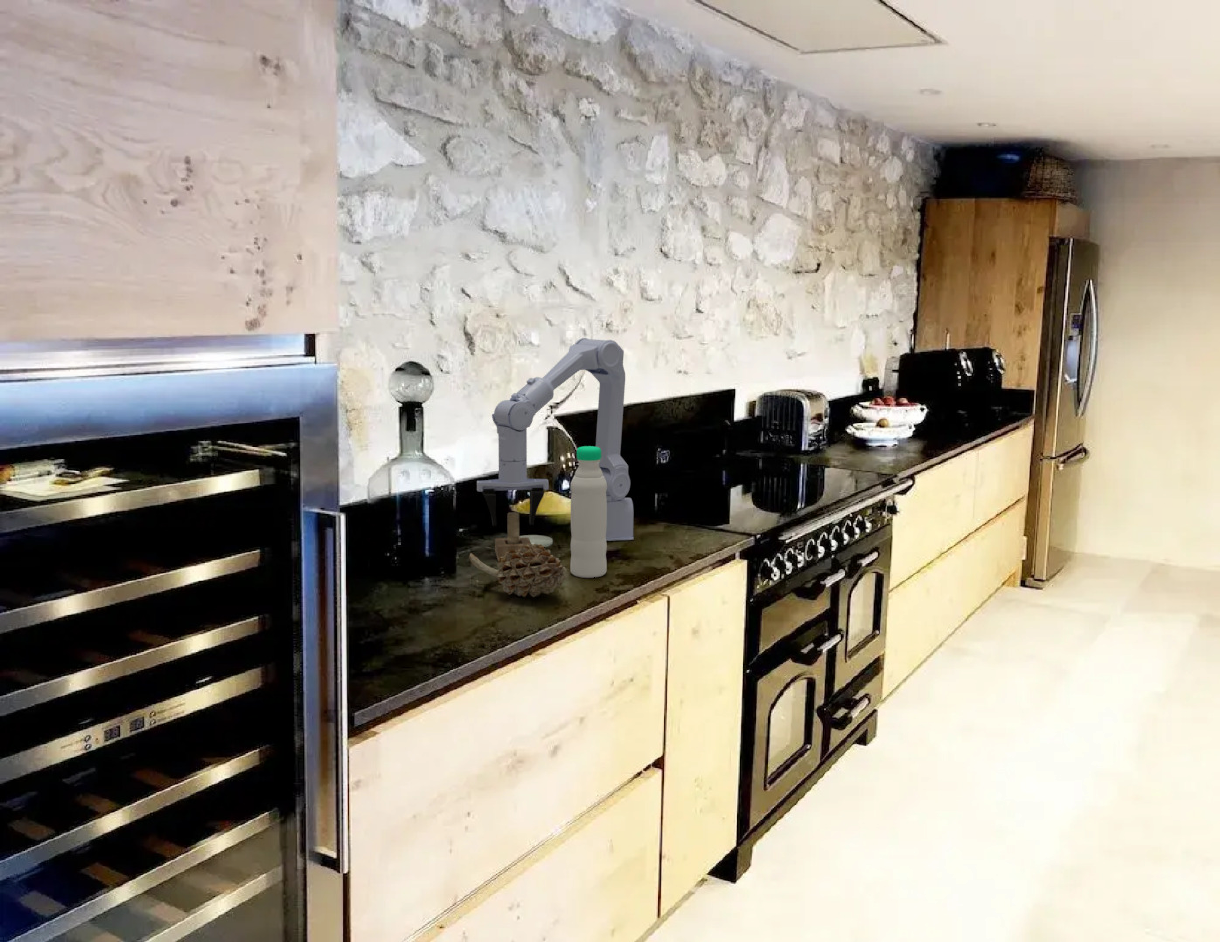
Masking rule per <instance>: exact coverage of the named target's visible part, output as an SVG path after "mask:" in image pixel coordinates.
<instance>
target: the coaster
mask: <svg viewBox="0 0 1220 942" xmlns="http://www.w3.org/2000/svg"><path fill="white" fill-rule="evenodd" d="M525 537H528V538H529V540H530V542H531V544H532V545H533V544H537V545H540V544H541V545H543V546H544V547H545V548H548V547H551V546H552V545H553V542H554V541H553V538H552V537H550V536H547V535H542V534H541V535H540V534H539V535H538V534H528V535H527V534H526V535H519V538H525Z"/></svg>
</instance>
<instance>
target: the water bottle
mask: <svg viewBox="0 0 1220 942" xmlns="http://www.w3.org/2000/svg"><path fill="white" fill-rule="evenodd" d="M576 459H577V460H576V461H577V462H578V466H577V468H576V470H575V472H574V475H573V477H572V479H571V482H570V490H571V495H570V496H571V498H570V532H571V533H570V534H571V539H570V554H571V557H570V573H571V574H572V575H573V576H574V577H577V578H578V577H579V578H583V579H584V578H585V579H593V578H594V577H595V578H599V577H602V576H604V575H606V573H607V570H608V567H607V565H608V564H607V563H608V562H607V555H606V554H607V550H608V549H607V548H608V547H607V541H606V527H607V499H606V490H607V482H606V480H605V478H604V476H603V473H602V471H601V469H600V467H599V462H600V461H601V460H600V459H601V449H600V448H599V447H596V446H593V445H592V446H591V445H588V446H587V445H584V446H579V447H578V448H577V449H576Z"/></svg>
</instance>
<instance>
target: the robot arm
mask: <svg viewBox="0 0 1220 942" xmlns="http://www.w3.org/2000/svg"><path fill="white" fill-rule="evenodd" d="M624 355H625V351H624V349H623V348H622V346H620V344H618V343H617V342H616V341H615V340H612V339H607V340H604V339H592V338H586V337H583V338H580V339H578V340H577V341H576V342H575V343H574V344H572V345H571V346H569V348H568V352H567V353H566V354H565V355H564V356H563V357H562V358H561V359H560V360H559V361H558V362H557V363H556V364H554V366H553V367H552V368H551V369H550V370H549V371H548V372H547V373H546V374H545V375H543V377H539V376H536V377H533V378H532V377H530V378H528V379H527V380H526V382H525V383H526V384H524V386H523V387H521V388H520V389H519V390H518V391H517V392H514V393H512V394H511V397H510V398H509V400H508V399H507V400H502V401H500V402H498V404H497V405H496V406H495V408H494V412H493V413H492V414H491V417H492V421H493V424H494V425H495V426H496V434H497V435H498V436H497V437H498V478H495V479H488V480H486V479H485V480H477V481H476V491H477V492H479V493H480V492H481V493H482V495H483V497H484V498H485V502H486V504H487V507H488V509H489V513H490V517H491V525H492V527H497V526H498V525H497V522H498V521H497V509H496V507H497V495H496V491H525V490H526V491H527V490H528V493H529V515H528V522H529V525H530V526H534V525H535V518H536V515H537V511H538V509H539V506H540V503H541V501H542V500H543V498H544V495H545V491H548V490H549V488H550V487H549V479H548V478H528V477H527V476H528V475H527V473H528V472H527V471H528V468H527V467H528V463H527V462H528V461H527V460H528V459H527V456H528V455H527V453H528V451H527V449H528V448H527V447H528V445H527V444H528V443H527V440H528V439H527V438H528V436H527V434H528V433H527V428H530V426H531V425H532V423H533V421H534V417H535V416H536V413H538V412H539V411H540V410H541V409H543V408H544V407H545V406H546V405H547V404H548V403H549V402H550V401H551V400H553V399H554V395H555V394H554V391H555V390H556V389H557V388H559V386H561V385H563V384H564V383H565V382H567V381H568V380H569V379H570V378H571V377H573V376H574V375H575V374H577V373H578V372H579V371H583V370H585V371H586V372H588V373H590V374H591V375H592V376H593V377H594V378H595V379H596V380H597V382H598V383H599V390H598V392H599V393H598V403H597V404H598V406H597V420H596V421H597V422H596V435H595V436H596V437H595V447H599V448H600V449H601V459H600V460H601V461H600V462H599V467H600V469H601V471H602V473H603V476H604V478H605V480H606V482H607V490H606V499H607V527H606V542H607V541H608V542H611V541H613V542H615V541H631V540H633V541H634V502H633V500H632V498H631V497H626V496H627V495H628V493H629V491H630V488H631V478H630V475H629V465H628V464H627V462H626V461H625V459H624V458H623V457H622V456H621V450H622V449H621V447H622V446H621V445H622V434H623V433H622V432H623V420H624V419H623V418H624V416H623V415H624V405H625V404H624V403H625V390H626V388H625V387H626V372H625V367H624Z"/></svg>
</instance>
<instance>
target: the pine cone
mask: <svg viewBox="0 0 1220 942" xmlns="http://www.w3.org/2000/svg"><path fill="white" fill-rule="evenodd" d="M468 557H469V561H470V563H471V564H472V565H473V566H474V567H476V568H477V569H479V570H481V571H483V572H485V573H486V574H488V575H491V576H493V577H496V578H497V579H498V583H499V584H501V585H502V589H503V592H505V593H507V594H508V595H511V594H515V595H517V596H518V597H521V596H522V597H524V598H525V597H526V596H527V595H528V593H529V595H530V596H531V597H533V598H535V597H539V596H540V594H541V593H543V594H545V595H546V594H547V595H549V594H550V593H553V592H554V590H555V588H558V587H561V586H562V584H563V583H564V581H566V580H567V577H566V575H565V571H566V567H565V566H563V565H562V564H561V559H560V558H559V557H556V556H554V555H553V554H551V550H550V549H549V548H548V549H547V548H546V547H545V548H544V546H543V545H541V544H540V545H537V544H533V545H532V546H531V547H530V546H529V545H528V544H527V545H525V546H522V547H521V548H520V549H517V550H516V551H515V550H513V549H511V550H510V551H509V552H507V554H506V555H505V556H503V557H500V558H499V561H498V562H497V563H496V566H497V569H495V568H493V567H491V566H490V565H487V564H485V563H484V562H482V561H481V560H480V559H479V558H478V556H475V555H474V554H473V553H470V554H469V555H468Z"/></svg>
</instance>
